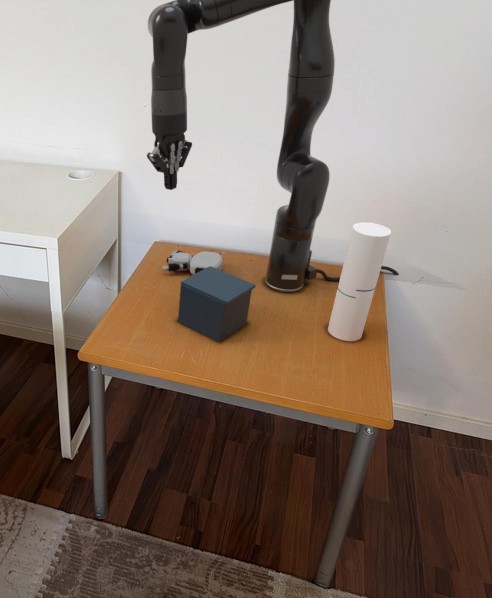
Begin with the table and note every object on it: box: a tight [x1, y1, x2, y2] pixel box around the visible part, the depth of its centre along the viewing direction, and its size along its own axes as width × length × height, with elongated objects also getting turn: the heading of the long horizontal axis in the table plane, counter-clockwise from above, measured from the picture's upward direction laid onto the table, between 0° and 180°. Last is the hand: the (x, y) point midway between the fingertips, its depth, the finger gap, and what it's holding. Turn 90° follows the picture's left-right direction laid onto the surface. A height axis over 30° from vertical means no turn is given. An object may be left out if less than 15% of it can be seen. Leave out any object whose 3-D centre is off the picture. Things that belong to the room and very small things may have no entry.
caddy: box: [177, 283, 253, 343], centre depth 129 cm, size 12×11×10 cm
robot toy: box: [162, 250, 226, 275], centre depth 153 cm, size 12×4×15 cm
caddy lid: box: [180, 266, 257, 305], centre depth 127 cm, size 12×11×1 cm
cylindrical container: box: [327, 221, 392, 342], centre depth 122 cm, size 7×7×25 cm
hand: (170, 188), depth 130 cm, fingers closed
